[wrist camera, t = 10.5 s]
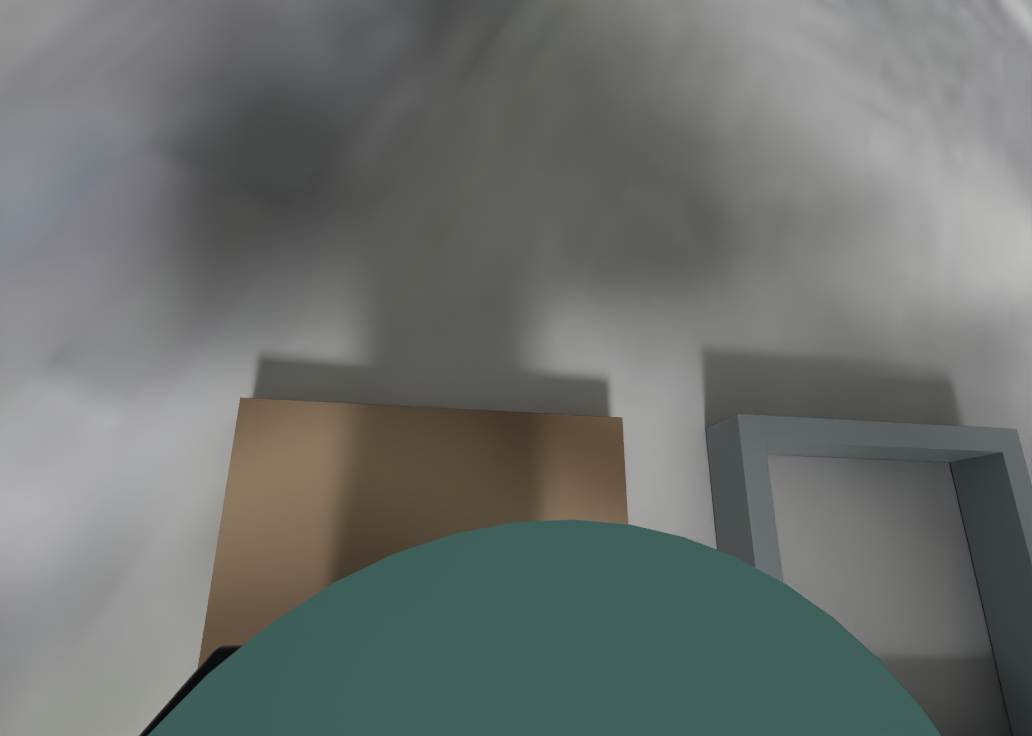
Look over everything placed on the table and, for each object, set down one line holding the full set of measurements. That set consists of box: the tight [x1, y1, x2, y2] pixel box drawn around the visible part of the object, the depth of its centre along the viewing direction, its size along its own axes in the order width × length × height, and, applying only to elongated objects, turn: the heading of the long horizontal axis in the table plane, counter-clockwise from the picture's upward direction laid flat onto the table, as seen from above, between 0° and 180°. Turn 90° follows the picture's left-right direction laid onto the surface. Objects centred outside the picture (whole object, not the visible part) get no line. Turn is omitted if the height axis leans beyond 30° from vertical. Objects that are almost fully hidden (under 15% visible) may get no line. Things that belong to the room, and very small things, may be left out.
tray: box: [706, 414, 1032, 736], centre depth 19 cm, size 10×10×2 cm
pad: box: [198, 398, 628, 668], centre depth 16 cm, size 14×11×1 cm
